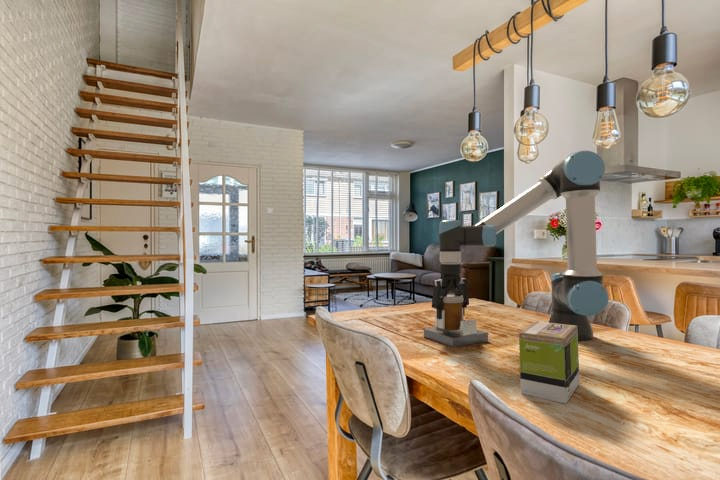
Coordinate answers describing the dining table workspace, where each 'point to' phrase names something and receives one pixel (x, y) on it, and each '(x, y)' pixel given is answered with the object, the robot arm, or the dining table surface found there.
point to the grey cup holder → (457, 334)
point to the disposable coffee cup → (452, 311)
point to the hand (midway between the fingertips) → (450, 326)
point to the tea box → (549, 361)
